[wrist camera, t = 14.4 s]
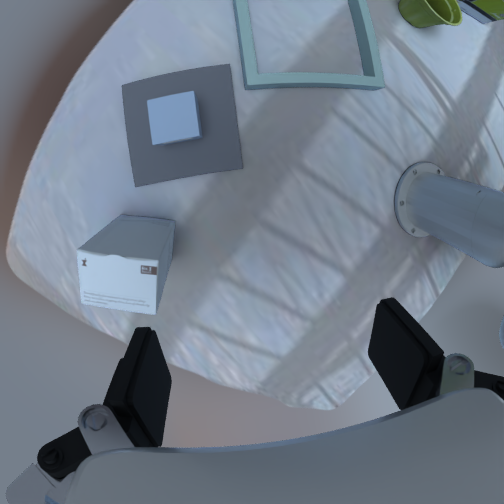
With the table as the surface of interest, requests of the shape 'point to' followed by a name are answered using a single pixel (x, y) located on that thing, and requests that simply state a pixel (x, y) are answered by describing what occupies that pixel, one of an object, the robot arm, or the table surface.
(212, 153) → the mat
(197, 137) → the slate box
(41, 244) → the table surface
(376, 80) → the tray
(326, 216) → the table surface
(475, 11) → the tea box
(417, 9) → the plant pot
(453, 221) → the robot arm
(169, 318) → the table surface
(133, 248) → the skincare box
